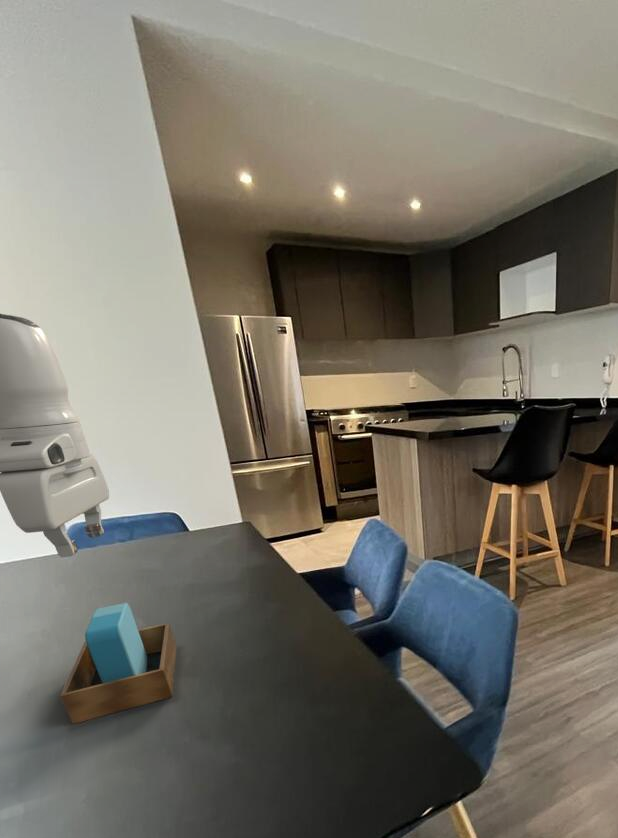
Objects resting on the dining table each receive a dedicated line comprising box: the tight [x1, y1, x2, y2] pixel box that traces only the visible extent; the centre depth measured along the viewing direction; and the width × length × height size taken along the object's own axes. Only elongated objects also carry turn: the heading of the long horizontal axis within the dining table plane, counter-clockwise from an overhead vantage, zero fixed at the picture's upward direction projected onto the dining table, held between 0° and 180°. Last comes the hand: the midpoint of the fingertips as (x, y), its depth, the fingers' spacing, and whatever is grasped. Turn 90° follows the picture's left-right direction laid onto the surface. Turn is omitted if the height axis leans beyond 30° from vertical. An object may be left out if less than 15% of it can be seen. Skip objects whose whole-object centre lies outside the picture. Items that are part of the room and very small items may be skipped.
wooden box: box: [60, 622, 177, 725], centre depth 81 cm, size 13×18×5 cm
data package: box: [84, 602, 149, 684], centre depth 80 cm, size 12×4×12 cm, turn 26°
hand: (83, 545), depth 72 cm, fingers open, 8 cm apart
